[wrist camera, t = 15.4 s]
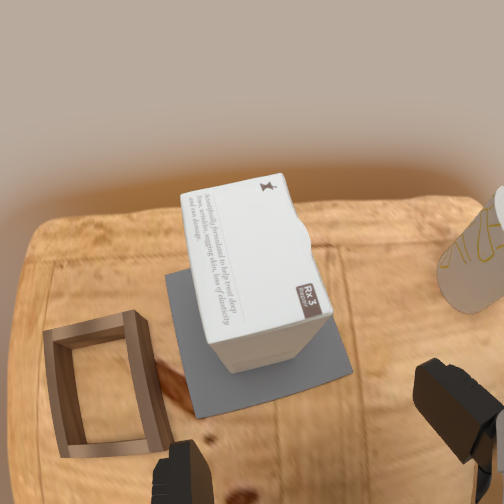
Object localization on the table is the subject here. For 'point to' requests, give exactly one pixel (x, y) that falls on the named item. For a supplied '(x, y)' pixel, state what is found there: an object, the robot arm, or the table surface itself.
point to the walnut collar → (142, 374)
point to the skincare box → (253, 272)
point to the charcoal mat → (251, 381)
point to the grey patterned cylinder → (476, 261)
